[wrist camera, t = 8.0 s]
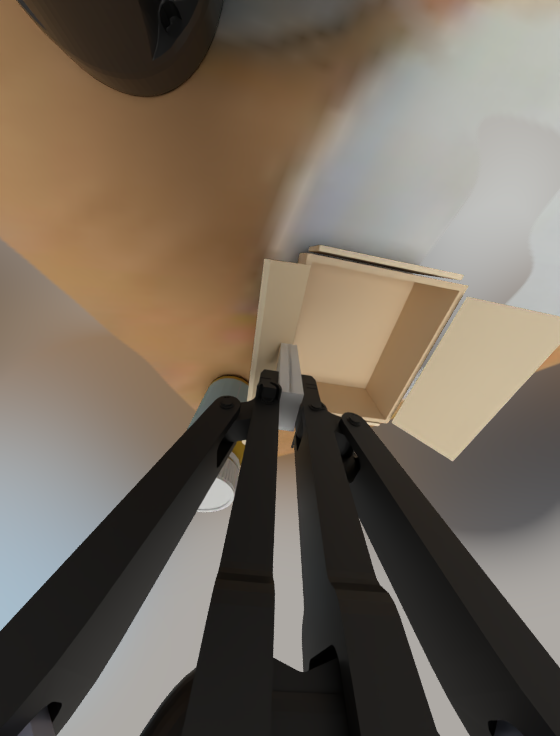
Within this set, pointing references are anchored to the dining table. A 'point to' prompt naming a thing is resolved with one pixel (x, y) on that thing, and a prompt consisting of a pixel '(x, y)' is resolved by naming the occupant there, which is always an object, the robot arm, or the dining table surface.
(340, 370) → the carton
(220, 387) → the bottle
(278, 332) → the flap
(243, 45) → the dining table surface
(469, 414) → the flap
